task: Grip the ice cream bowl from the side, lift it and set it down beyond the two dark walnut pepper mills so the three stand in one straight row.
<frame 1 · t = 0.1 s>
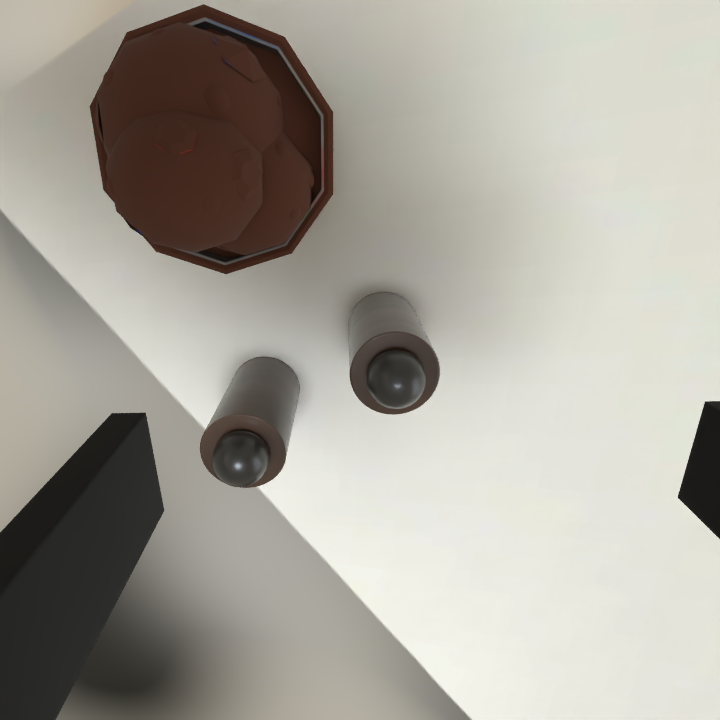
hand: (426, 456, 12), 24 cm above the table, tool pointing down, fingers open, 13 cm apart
walnut mill middle: (383, 325, 35), on the table
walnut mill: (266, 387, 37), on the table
ice cream bowl: (253, 156, 31), on the table
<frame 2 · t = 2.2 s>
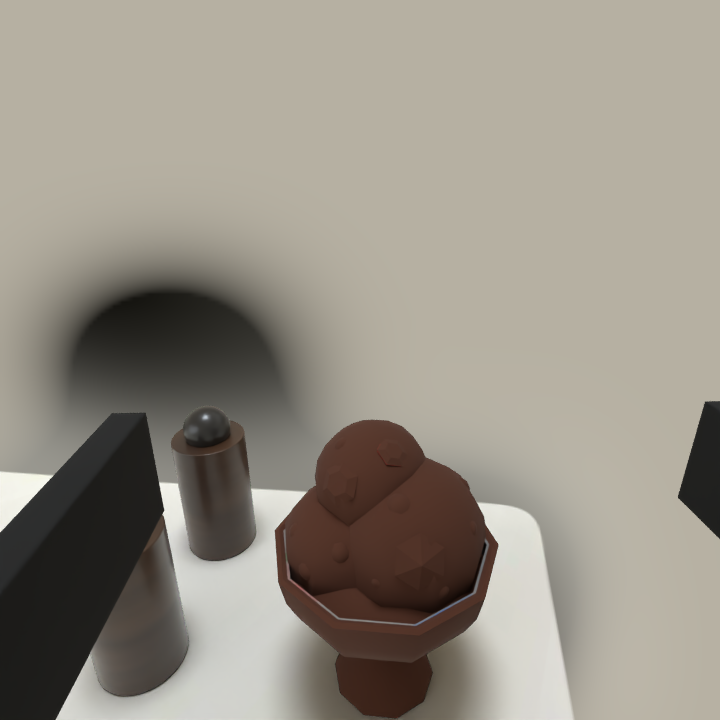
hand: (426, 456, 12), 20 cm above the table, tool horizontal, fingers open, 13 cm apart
walnut mill middle: (144, 653, 29), on the table
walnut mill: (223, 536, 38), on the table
ice cream bowl: (383, 670, 28), on the table
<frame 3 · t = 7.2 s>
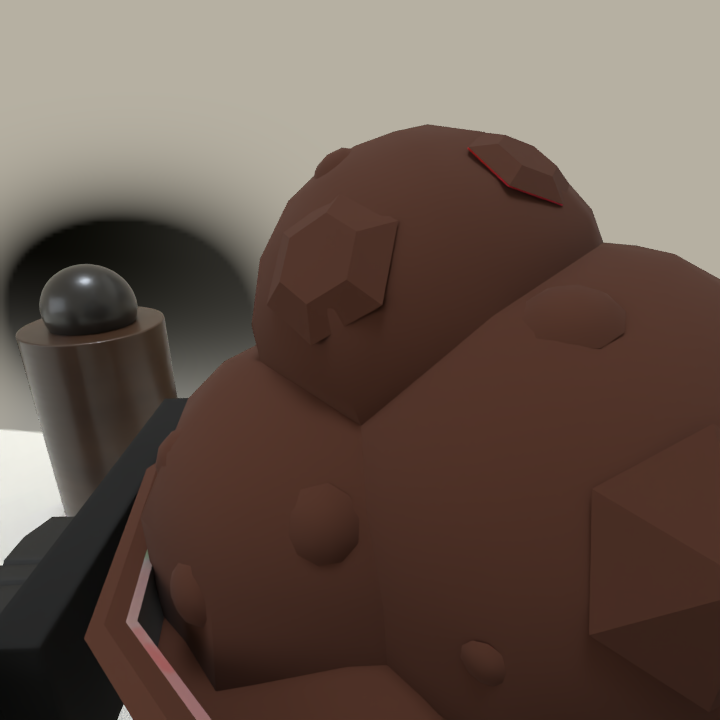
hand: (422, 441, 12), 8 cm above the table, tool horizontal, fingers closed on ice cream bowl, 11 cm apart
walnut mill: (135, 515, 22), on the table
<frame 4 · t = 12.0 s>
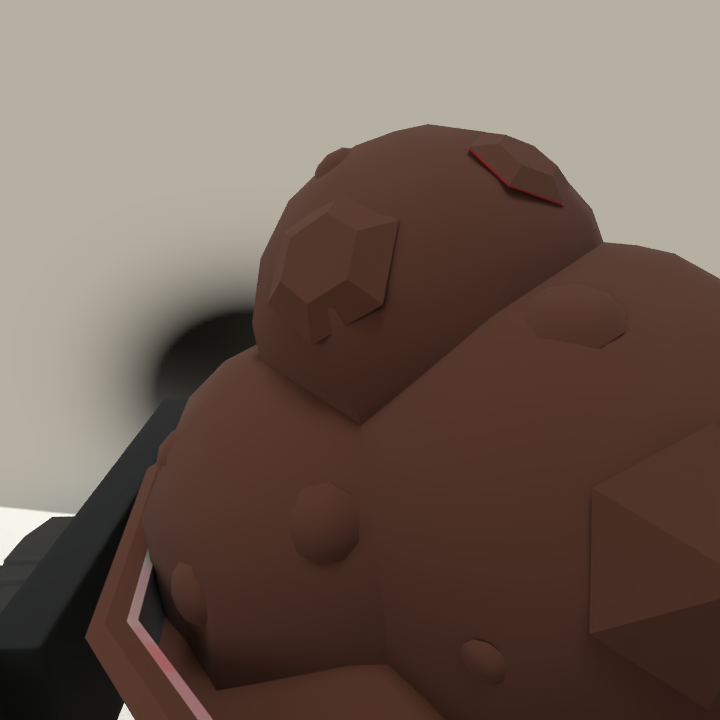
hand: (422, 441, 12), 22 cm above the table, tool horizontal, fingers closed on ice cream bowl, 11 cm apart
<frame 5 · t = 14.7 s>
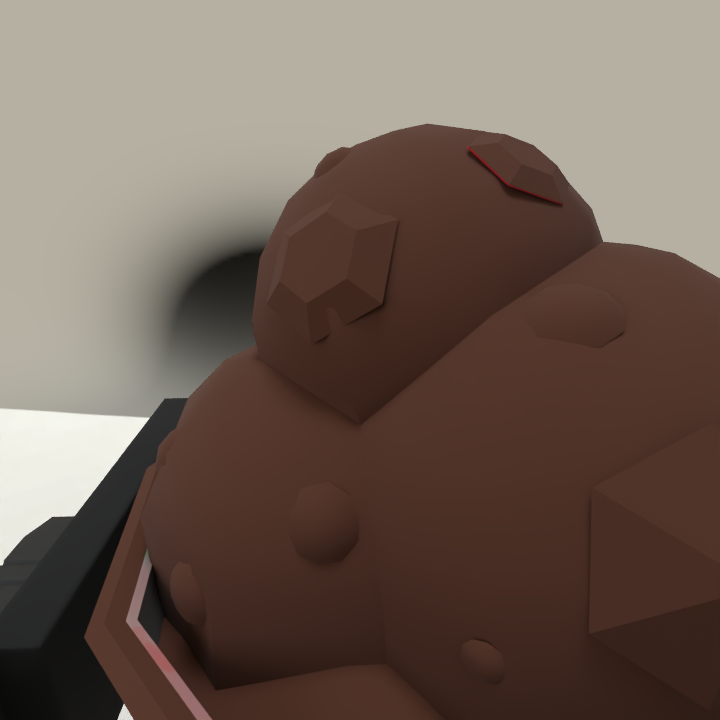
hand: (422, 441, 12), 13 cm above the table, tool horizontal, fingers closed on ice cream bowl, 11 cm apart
when the fingers open (8 cm above the table, at t = 16.9 s): ice cream bowl stays where it is, on the table.
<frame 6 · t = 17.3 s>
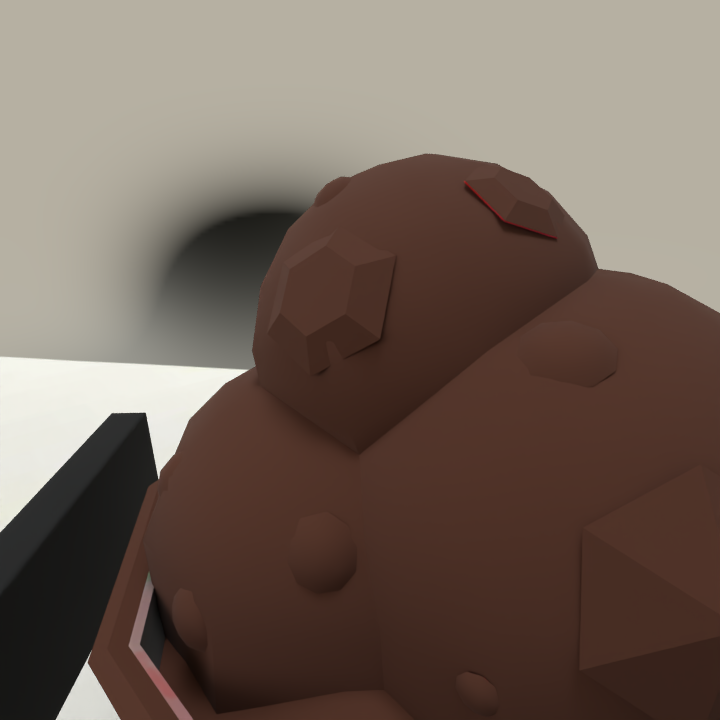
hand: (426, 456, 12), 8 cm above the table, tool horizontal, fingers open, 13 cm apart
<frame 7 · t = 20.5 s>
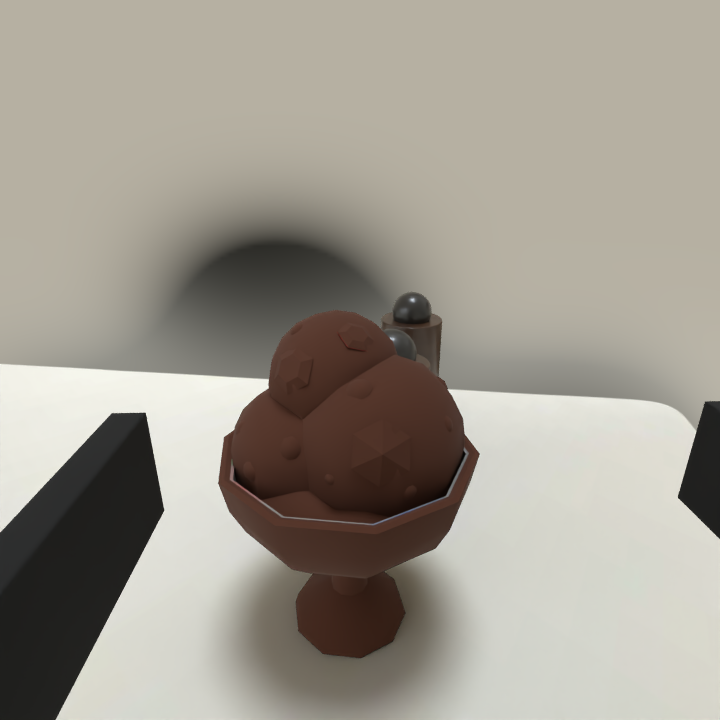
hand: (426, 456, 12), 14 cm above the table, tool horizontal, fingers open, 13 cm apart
walnut mill middle: (388, 480, 34), on the table
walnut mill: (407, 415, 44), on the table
ice cream bowl: (349, 610, 25), on the table
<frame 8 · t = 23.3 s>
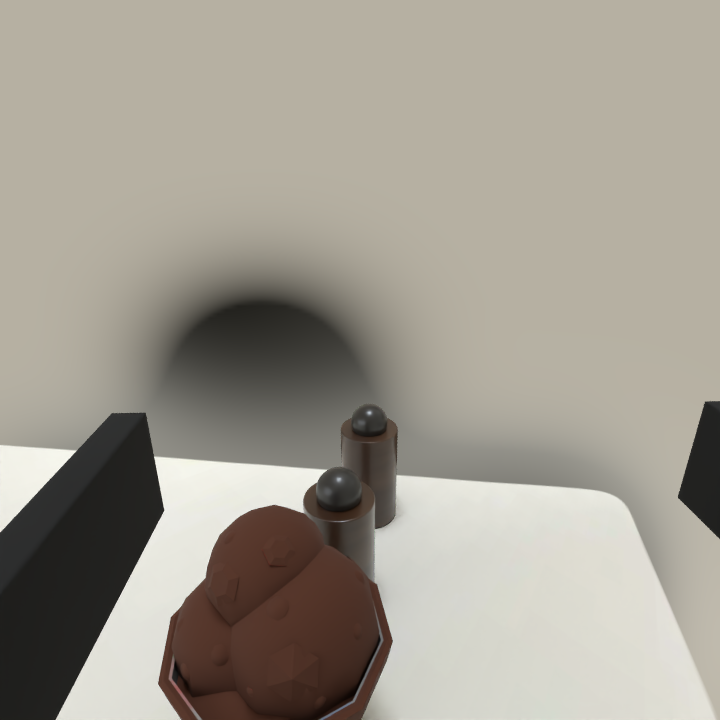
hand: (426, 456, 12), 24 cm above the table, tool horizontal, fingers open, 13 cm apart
walnut mill middle: (341, 594, 37), on the table
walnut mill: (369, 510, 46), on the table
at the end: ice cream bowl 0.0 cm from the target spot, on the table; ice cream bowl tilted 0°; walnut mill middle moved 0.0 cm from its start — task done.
